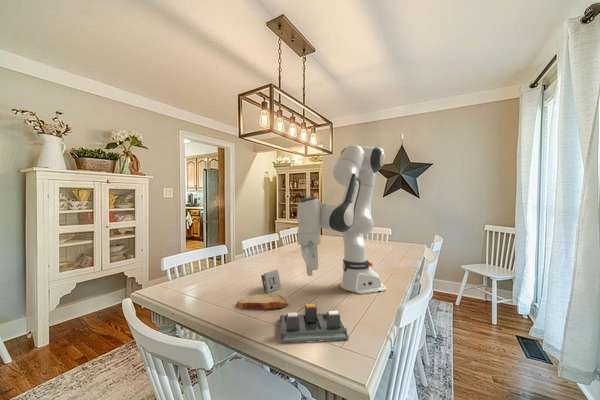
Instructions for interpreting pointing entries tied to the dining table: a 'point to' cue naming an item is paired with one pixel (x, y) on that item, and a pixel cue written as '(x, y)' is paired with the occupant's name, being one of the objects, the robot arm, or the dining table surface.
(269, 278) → the electrical switch
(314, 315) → the breaker mid
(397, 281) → the dining table surface
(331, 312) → the breaker
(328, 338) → the panel
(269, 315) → the dining table surface
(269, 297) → the slice of bread
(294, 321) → the breaker
